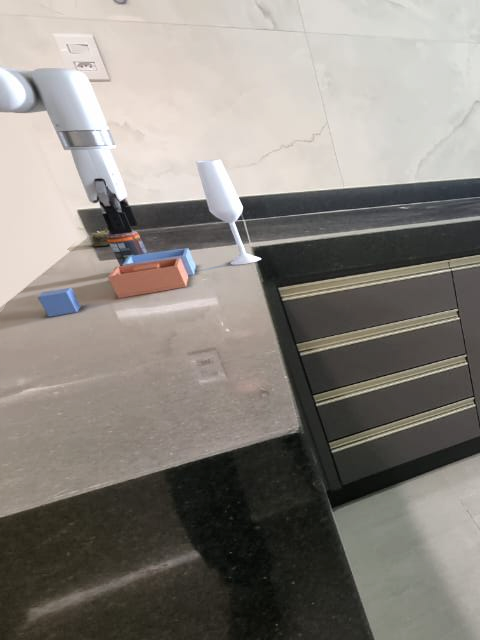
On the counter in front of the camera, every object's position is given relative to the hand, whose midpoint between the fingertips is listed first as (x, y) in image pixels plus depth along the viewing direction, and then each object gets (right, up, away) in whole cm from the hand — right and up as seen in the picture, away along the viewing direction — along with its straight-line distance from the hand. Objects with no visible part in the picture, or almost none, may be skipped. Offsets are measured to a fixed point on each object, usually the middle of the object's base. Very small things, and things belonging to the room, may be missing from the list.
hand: (125, 229), depth 110 cm
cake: (-55, +9, +53) cm, 76 cm away
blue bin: (-5, -7, +15) cm, 17 cm away
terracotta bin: (+1, -11, +6) cm, 13 cm away
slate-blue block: (-4, -18, -8) cm, 20 cm away
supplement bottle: (-17, -5, +21) cm, 28 cm away
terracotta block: (+1, -11, +5) cm, 12 cm away
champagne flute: (+7, -2, +24) cm, 25 cm away
